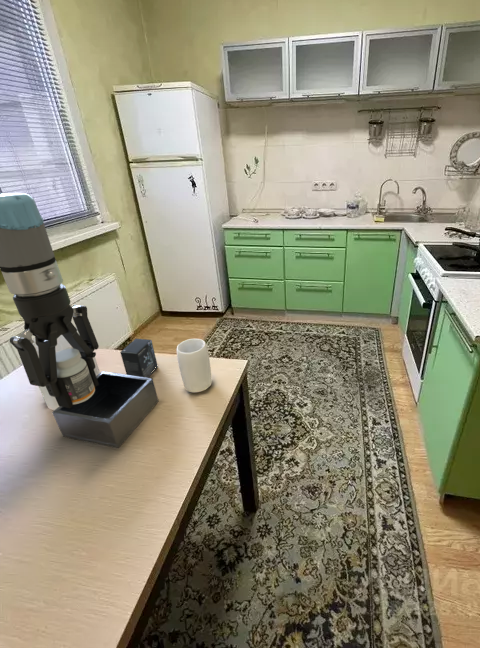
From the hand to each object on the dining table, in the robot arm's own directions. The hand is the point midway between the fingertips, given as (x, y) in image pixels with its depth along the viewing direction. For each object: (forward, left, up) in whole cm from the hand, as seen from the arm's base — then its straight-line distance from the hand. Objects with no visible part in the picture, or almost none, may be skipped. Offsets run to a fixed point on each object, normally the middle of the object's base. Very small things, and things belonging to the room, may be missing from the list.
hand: (79, 394), depth 65 cm
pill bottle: (0, 0, -1) cm, 1 cm away
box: (-11, +29, -19) cm, 36 cm away
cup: (+9, +27, -19) cm, 34 cm away
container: (-25, +17, -19) cm, 35 cm away
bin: (-7, +11, -19) cm, 23 cm away
